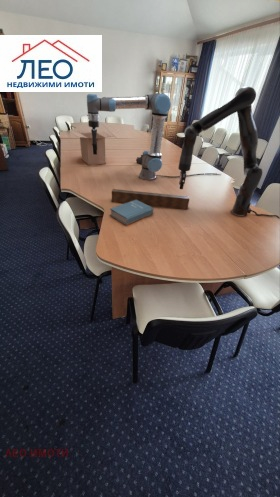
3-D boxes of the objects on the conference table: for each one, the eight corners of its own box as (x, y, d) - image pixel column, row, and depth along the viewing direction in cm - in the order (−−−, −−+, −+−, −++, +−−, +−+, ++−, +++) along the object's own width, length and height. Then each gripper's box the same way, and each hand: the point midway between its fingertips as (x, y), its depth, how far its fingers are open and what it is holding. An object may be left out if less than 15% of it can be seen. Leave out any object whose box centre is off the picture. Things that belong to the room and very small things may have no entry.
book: (135, 206, 155) (136, 199, 152) (152, 214, 146) (153, 207, 143) (110, 215, 142) (110, 208, 139) (127, 225, 133) (127, 218, 130)
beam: (111, 201, 159) (111, 191, 154) (113, 199, 162) (113, 188, 158) (187, 209, 156) (189, 199, 151) (186, 206, 160) (189, 196, 155)
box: (116, 165, 229) (116, 136, 213) (83, 168, 214) (80, 137, 198) (102, 154, 259) (101, 128, 243) (71, 156, 244) (68, 129, 228)
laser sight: (155, 166, 234) (156, 156, 228) (135, 164, 237) (135, 154, 231) (157, 164, 242) (158, 154, 236) (137, 161, 245) (137, 152, 239)
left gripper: (88, 117, 166) (90, 148, 179) (87, 122, 147) (89, 156, 159) (99, 118, 167) (100, 148, 180) (98, 123, 148) (100, 156, 160)
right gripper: (192, 165, 134) (187, 191, 143) (190, 159, 145) (185, 183, 155) (179, 164, 134) (175, 190, 144) (179, 158, 145) (175, 182, 155)
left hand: (95, 152), depth 170 cm, fingers open, 13 cm apart
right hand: (180, 186), depth 149 cm, fingers open, 8 cm apart
